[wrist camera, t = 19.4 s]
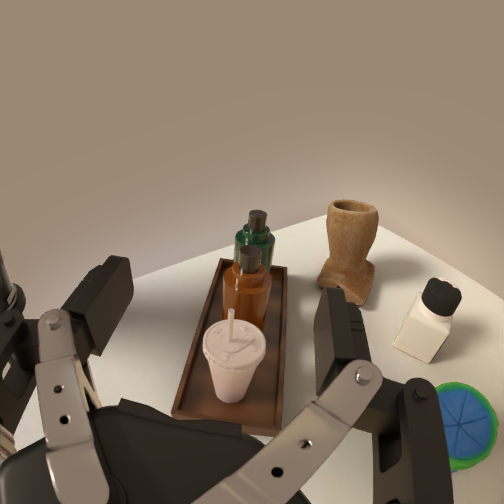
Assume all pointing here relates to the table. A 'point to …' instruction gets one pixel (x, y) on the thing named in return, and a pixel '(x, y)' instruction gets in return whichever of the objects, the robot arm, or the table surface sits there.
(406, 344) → the medicine bottle
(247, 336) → the smoothie
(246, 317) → the amber bottle
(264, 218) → the green bottle
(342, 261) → the stone cup
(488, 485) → the table surface
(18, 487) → the robot arm
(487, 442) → the snack cup
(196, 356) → the tray
